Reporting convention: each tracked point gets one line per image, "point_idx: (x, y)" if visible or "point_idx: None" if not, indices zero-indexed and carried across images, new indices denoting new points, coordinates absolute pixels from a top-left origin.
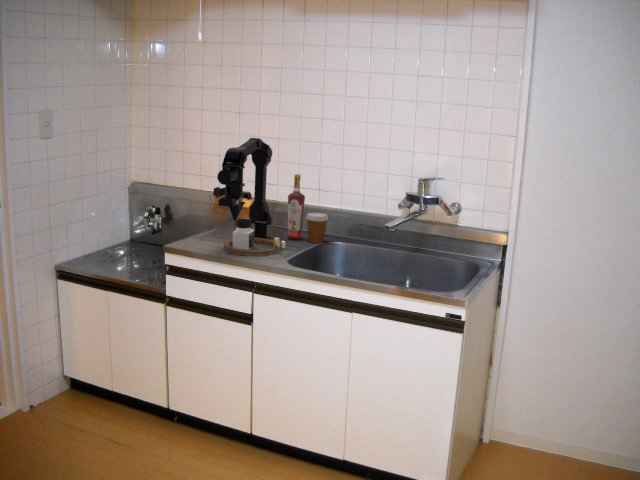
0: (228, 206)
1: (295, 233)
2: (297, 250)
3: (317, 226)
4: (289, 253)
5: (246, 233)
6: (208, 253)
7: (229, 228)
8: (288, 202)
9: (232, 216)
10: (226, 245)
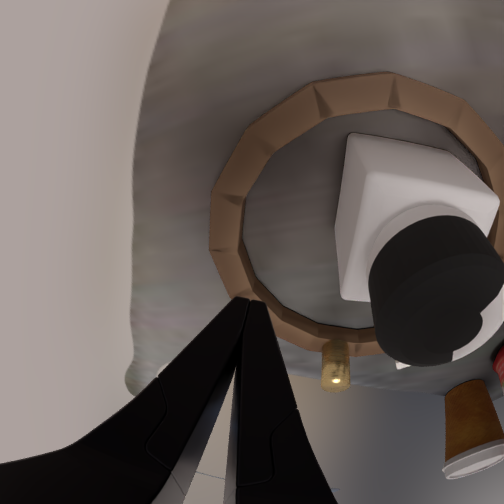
0: (46, 455)
1: (500, 372)
2: (364, 377)
3: (446, 446)
4: (318, 365)
5: (344, 281)
6: (179, 27)
7: None
8: None
9: (207, 328)
10: (313, 103)
